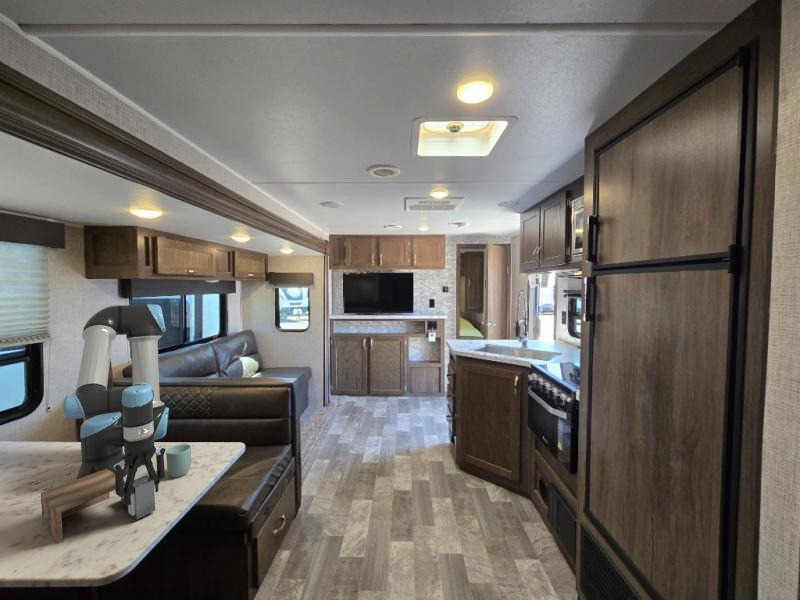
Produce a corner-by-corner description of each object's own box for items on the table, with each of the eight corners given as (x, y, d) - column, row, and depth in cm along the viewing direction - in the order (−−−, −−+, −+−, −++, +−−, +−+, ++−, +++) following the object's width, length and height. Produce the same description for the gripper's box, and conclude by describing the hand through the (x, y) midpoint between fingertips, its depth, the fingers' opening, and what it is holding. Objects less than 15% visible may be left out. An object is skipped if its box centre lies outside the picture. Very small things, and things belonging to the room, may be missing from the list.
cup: (174, 469, 136) (173, 444, 135) (195, 468, 137) (194, 443, 136) (162, 480, 128) (161, 454, 128) (184, 479, 129) (183, 453, 128)
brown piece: (42, 525, 105) (40, 493, 104) (108, 496, 119) (106, 468, 118) (58, 543, 98) (56, 509, 97) (126, 511, 111) (124, 481, 111)
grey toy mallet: (116, 502, 114) (114, 473, 113) (134, 494, 118) (132, 466, 118) (136, 519, 106) (135, 487, 105) (155, 510, 110) (153, 479, 110)
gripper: (108, 451, 98) (112, 530, 100) (176, 428, 114) (179, 496, 115) (97, 444, 102) (101, 520, 104) (165, 423, 118) (167, 489, 119)
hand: (142, 508), depth 109 cm, fingers closed on grey toy mallet, 5 cm apart
